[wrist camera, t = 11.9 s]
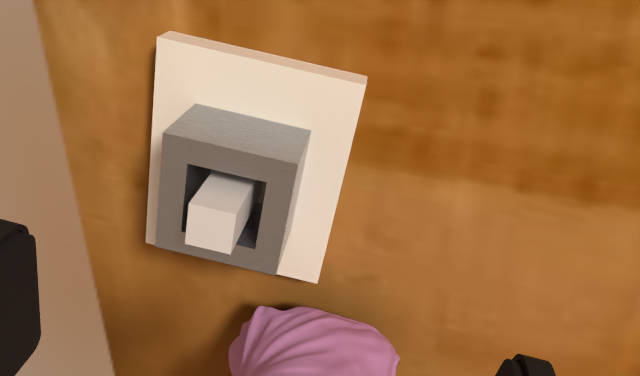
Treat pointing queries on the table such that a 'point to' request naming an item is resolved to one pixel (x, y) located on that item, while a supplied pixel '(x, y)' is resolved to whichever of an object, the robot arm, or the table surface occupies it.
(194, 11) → the table surface
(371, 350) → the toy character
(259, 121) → the collar
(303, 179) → the post plinth
